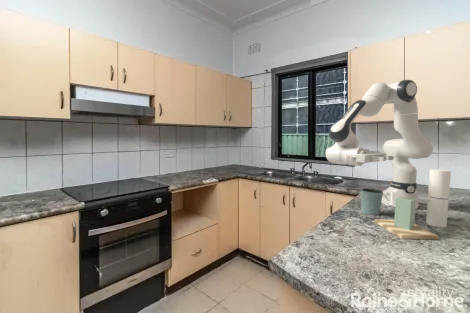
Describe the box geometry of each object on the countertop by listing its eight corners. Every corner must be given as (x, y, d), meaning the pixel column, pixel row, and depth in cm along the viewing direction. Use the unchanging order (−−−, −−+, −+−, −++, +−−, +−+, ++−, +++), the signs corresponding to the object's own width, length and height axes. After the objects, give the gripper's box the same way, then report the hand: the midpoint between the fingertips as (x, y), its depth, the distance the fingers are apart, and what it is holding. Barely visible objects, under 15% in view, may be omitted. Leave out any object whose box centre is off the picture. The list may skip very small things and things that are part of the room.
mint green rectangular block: (394, 226, 101) (395, 198, 100) (399, 223, 104) (400, 196, 104) (409, 230, 97) (411, 201, 96) (414, 227, 100) (415, 199, 99)
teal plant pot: (375, 210, 129) (377, 188, 128) (385, 216, 119) (387, 192, 118) (356, 209, 130) (357, 187, 129) (364, 215, 120) (365, 192, 119)
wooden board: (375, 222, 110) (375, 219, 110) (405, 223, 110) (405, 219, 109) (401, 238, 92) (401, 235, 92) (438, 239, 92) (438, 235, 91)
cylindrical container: (438, 227, 104) (443, 171, 102) (422, 222, 111) (425, 169, 109) (450, 226, 106) (455, 170, 104) (433, 221, 113) (437, 168, 111)
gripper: (346, 150, 109) (378, 152, 98) (367, 149, 121) (398, 150, 110) (345, 164, 110) (377, 167, 99) (367, 161, 122) (397, 164, 111)
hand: (388, 158), depth 104 cm, fingers open, 8 cm apart
